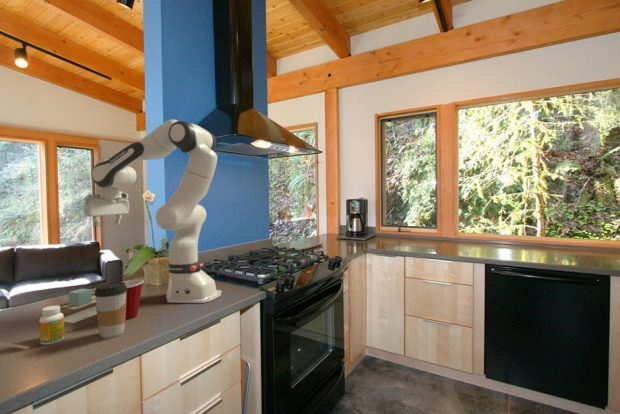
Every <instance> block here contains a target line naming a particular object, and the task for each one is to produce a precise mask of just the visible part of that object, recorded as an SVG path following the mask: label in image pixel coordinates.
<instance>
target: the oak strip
mask: <svg viewBox="0 0 620 414" xmlns="http://www.w3.org/2000/svg"><path fill="white" fill-rule="evenodd" d="M105 283H106V282H104V283H102V284H105ZM93 304H96V297H95V295H93V296H92V302H91V303H88V304H85V305H82V306H70V305H69V303H68V304H65V305H62V306H60V309H70V310H78V309H80V308H83V307H86V306H89V305H93Z"/></svg>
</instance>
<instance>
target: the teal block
mask: <svg viewBox="0 0 620 414" xmlns="http://www.w3.org/2000/svg"><path fill="white" fill-rule="evenodd" d="M91 302H92V289H89V288H79V289H76V290H72V291H68V304H69V305H70V306H82V305H85V304H88V303H91Z"/></svg>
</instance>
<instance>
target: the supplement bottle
mask: <svg viewBox="0 0 620 414" xmlns="http://www.w3.org/2000/svg"><path fill="white" fill-rule="evenodd" d="M60 307H61V306H60V305H49V306H46V307H43V308H42V309H41V311H42V312H41V314H42V316H41V317H40V318H39V320H38V321H39V322H38V323H39V343H40V344H41V345H44V346H46V345H52V344H57V343H59V342H61V341H62V340H64V339H65V322H64V317H65V316H64V313H62V312H61V308H60Z"/></svg>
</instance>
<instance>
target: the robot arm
mask: <svg viewBox="0 0 620 414" xmlns="http://www.w3.org/2000/svg"><path fill="white" fill-rule="evenodd" d="M216 146H217V140H216V137H215V135H214V134H213V133H212V132H211V131H209V129H208V130H207V129H205V128H203V127H201V126H200V125H198V124H195V123H191V122H190V121H186V120H177V119H174V118H173V119H168V120H167V121H164V122H163V123H161V124H160V125H158V126H157V127H156V128H155V129H153V130H152V131H151V132H150V133H148V134H147V135H146V136H145V137H143V138H141V139H138V140H137V141H134V142H132V143H131V144H129V145H127V146H126V147H124V148H123V149H122V150H119V151H118V152H117V153H115V154H114V155H113V156H111V157H107V158H100V159H99V158H98V160H97V161H96V163H95V165H94V166H93V168H92V169H91V171H90V172H91V173H90V176H91V179H92V181H93V182H94V184H95V190H94V191H95V194H88V195H86V196H85V197H84V205H83V214H84V216H85V217H92V220H93V221H94V223H95V224H94V226H96V227H101V226H102V221H101V220H99V218H100V217H101V216H116V218H115V220H114V221H113V222H114V225H121V220H122V218H123V215H127V214H129V212H130V201H129V200H128V198H129V194H128V193H126V192H123V191H121V190H119V188H131V187H134V185H136V183H137V180H138V173H137V171H136V169H135V168H134V167H132V166H131V165H132V164H134V163H136V162H139V161H140V162H141V161H148V160H150V161H151V160H152V161H153V160H162V159H164V158H166V157H168V156H169V155H171V154H172V153H173V152H174V151H175V150H176V149H177V148H178V149H179V150H180V151H181V152H182V153H185V154H186V153H187V154H188V162H187V165H186V166H185V169H184V172H183V174H182V178H181V180H180V182H179V185H178V186H177V188H176V189H175V191H174V193H172V195H171V197H170V198H169V199H168V200H167V202H166V203H165V204H164V205H161V207H159V208H158V209H157V210H156V213H155V222H156V225H158V227H159V228H160V229H162V230H164V231H172V232H175V233H174V236H173V238H172V240H170V243H169V244H168V245H169V246H168V250H169V251H168V252H169V254H168V256H169V258H168V259H169V261H168V266H167V267H168V270H167V271H168V273H169V277H168V285H167V287H168V288H167V292H166V296H165V299H166V302H167V303H174V304H175V303H177V304H179V303H180V304H181V303H183V304H205V303H208V302H211V301H213V300H216V299H217V298H219V297H220V296H221V295H222V294H221V293H222V290H220V289H219V290H218V289H217V286H216V282H215V279H213V278H212V277H211V276H210V275H208V274H207V273H206V272H205V271H203V269H202V267H203V266H204V263H200V261H199V258H198V254H199V253H198V250H199V248H198V247H199V246H198V245H199V244H198V243H199V238H200V235H201V234H200V233H201V230H202V226H203V224H204V223H205V222H206V219H207V215H208V213H207V211H206V209H205V208H204V206H203V205H200V204H199V203H200V202H201V200H202V199H204V198H205V196H206V195H207V193H208V191H209V189H210V187H211V186H210V185H211V183H212V180H213V178H214V175H215V172H216V168H217V163H218V155H217V153H216V152H215V149H216Z"/></svg>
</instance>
